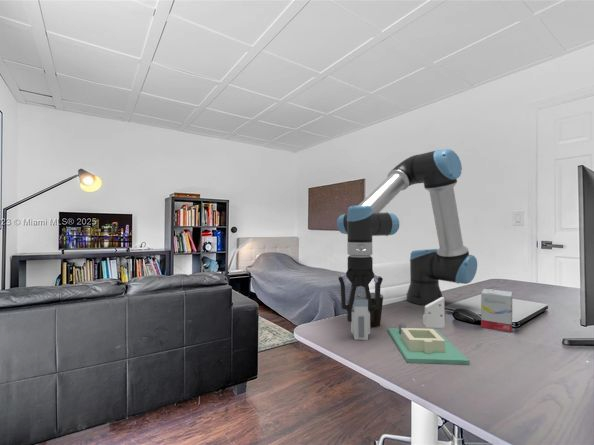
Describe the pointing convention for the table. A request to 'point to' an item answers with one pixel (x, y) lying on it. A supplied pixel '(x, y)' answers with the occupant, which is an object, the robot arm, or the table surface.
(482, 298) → the ink box
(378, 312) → the coffee mug
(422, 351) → the board
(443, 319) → the white wedge bracket
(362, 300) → the plug
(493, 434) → the table surface
